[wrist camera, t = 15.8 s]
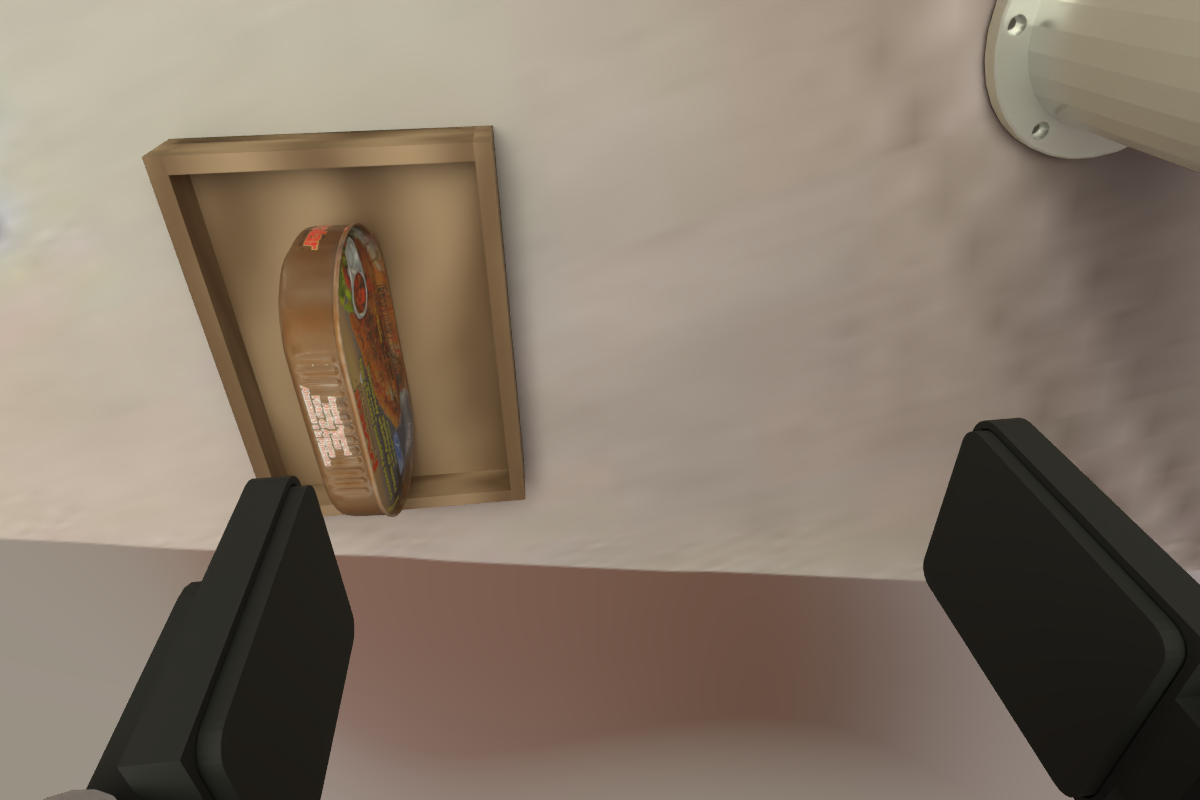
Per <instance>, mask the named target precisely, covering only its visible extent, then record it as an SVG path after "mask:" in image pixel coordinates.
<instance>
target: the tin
mask: <svg viewBox="0 0 1200 800" xmlns="http://www.w3.org/2000/svg"><path fill="white" fill-rule="evenodd" d="M278 307H279V322H280V331H281V337H282V343H283V349H284V353H285V357H286V361H287V364H288V368H289V371H290V375H291V378H292V382H293V385H294V389H295V392H296V395H297V399H298V402H299V405H300V409H301V412H302V415H303V419H304V422H305V425H306V428H307V432H308V435H309V438H310V442H311V445H312V448H313V451H314V455H315V458H316V461H317V464H318V467H319V471H320V474H321V477H322V480H323V484H324V487H325V489H326V492H327V494H328V497H329V499H330V501H331V502H332V504H333V505H334V507H335V508H336V509H337V510H338V511H339V512H341V513H343V514H345V515H351V516H370V515H387V516H390V517H395V516H397V515H398V514H399V513H400V512H401V511H402V509H403V507H404V505H405V502H406V499H407V496H408V492H409V488H410V482H411V474H412V463H413V447H414V426H413V412H412V405H411V397H410V391H409V386H408V380H407V375H406V370H405V366H404V360H403V355H402V350H401V345H400V340H399V335H398V329H397V324H396V319H395V313H394V308H393V303H392V298H391V293H390V288H389V283H388V278H387V273H386V268H385V265H384V261H383V258H382V255H381V252H380V249H379V246H378V244H377V242H376V240H375V238H374V236H373V234H372V232H371V231H370V230H369V229H368V228H367V227H366V226H365V225H364V224H362V223H359V222H355V223H351V224H350V225H325V226H314V227H308V228H306V229H304V230H303V231H302V232H300V233H299V235H298V236H297V237H296V239H295V241H294V242H293V244H292V246H291V248H290V249H289V251H288V253H287V254H286V256H285V258H284V261H283V264H282V269H281V274H280V282H279V297H278Z"/></svg>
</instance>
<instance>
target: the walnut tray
mask: <svg viewBox="0 0 1200 800" xmlns="http://www.w3.org/2000/svg"><path fill="white" fill-rule="evenodd" d="M142 159H143V162H144V164H145V167H146V170H147V173H148V176H149V178H150V181H151V184H152V187H153V190H154V192H155V195H156V198H157V201H158V204H159V206H160V209H161V212H162V215H163V218H164V220H165V223H166V226H167V229H168V232H169V234H170V237H171V240H172V243H173V246H174V249H175V251H176V254H177V257H178V260H179V263H180V265H181V268H182V271H183V274H184V277H185V279H186V282H187V285H188V288H189V291H190V293H191V296H192V299H193V302H194V305H195V307H196V310H197V313H198V316H199V319H200V321H201V324H202V327H203V330H204V333H205V335H206V338H207V341H208V344H209V347H210V349H211V352H212V355H213V358H214V361H215V363H216V366H217V369H218V372H219V375H220V377H221V380H222V383H223V386H224V389H225V391H226V394H227V397H228V400H229V403H230V405H231V408H232V411H233V414H234V417H235V419H236V422H237V425H238V428H239V431H240V433H241V436H242V439H243V442H244V445H245V447H246V450H247V453H248V456H249V459H250V461H251V464H252V467H253V470H254V473H255V475H256V478H268V477H281V476H296V477H297V478H298V479H299V481H300V483H301V486H302V485H312V486H313V488H314V490H315V492H316V495H317V498H318V502H319V505H320V508H321V512H322V515H323V516H332V515H344V514H343V513H341V512H339V511H338V510H337V509H336V508H335V507H334V505H333V504H332V502H331V501H330V499H329V497H328V494H327V492H326V489H325V487H324V484H323V480H322V477H321V474H320V471H319V467H318V464H317V461H316V458H315V455H314V451H313V448H312V445H311V442H310V438H309V435H308V432H307V428H306V425H305V422H304V419H303V415H302V412H301V409H300V405H299V402H298V399H297V395H296V392H295V389H294V385H293V382H292V378H291V375H290V371H289V368H288V364H287V361H286V357H285V353H284V349H283V343H282V337H281V331H280V322H279V307H278V297H279V282H280V274H281V269H282V264H283V261H284V258H285V256H286V254H287V253H288V251H289V249H290V248H291V246H292V244H293V242H294V241H295V239H296V237H297V236H298V235H299V233H300V232H302V231H303V230H304V229H306V228H308V227H314V226H325V225H350V224H351V223H355V222H359V223H362V224H364V225H365V226H366V227H367V228H368V229H369V230H370V231H371V232H372V234H373V236H374V238H375V240H376V242H377V244H378V246H379V249H380V252H381V255H382V258H383V261H384V265H385V268H386V273H387V278H388V283H389V288H390V293H391V298H392V303H393V308H394V313H395V319H396V324H397V329H398V335H399V340H400V345H401V350H402V355H403V360H404V366H405V370H406V375H407V380H408V386H409V391H410V397H411V405H412V412H413V426H414V447H413V463H412V474H411V482H410V488H409V492H408V496H407V499H406V502H405V505H404V507H403V509H415V508H427V507H439V506H451V505H463V504H475V503H487V502H498V501H510V500H522V499H525V475H524V460H523V449H522V438H521V428H520V417H519V406H518V395H517V384H516V374H515V363H514V352H513V341H512V331H511V320H510V309H509V298H508V288H507V277H506V266H505V255H504V245H503V234H502V223H501V212H500V202H499V191H498V180H497V169H496V159H495V148H494V137H493V126H472V127H448V128H423V129H399V130H375V131H351V132H327V133H303V134H279V135H255V136H231V137H207V138H183V139H168V140H167V141H165V142H164V143H162V144H161V145H159V146H158V147H156V148H155V149H153V150H152V151H150V152H149V153H147V154H146V155H144V156H143V157H142ZM403 509H402V510H403Z"/></svg>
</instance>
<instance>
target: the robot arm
mask: <svg viewBox="0 0 1200 800" xmlns="http://www.w3.org/2000/svg"><path fill="white" fill-rule="evenodd" d="M1009 23H1010V24H1009ZM1008 25H1009V26H1008ZM985 77H986V86H987V90H988V94H989V98H990V102H991V105H992V107H993V109H994V111H995V113H996V115H997V117H998V119H999V121H1000V122H1001V124H1002V125H1003V126H1004V127H1005V128H1006V130H1007V131H1008V132H1009V133H1010V134H1011V135H1012V136H1013V137H1014V138H1015V139H1017V140H1018V141H1020V142H1022V143H1023V144H1025V145H1026V146H1028V147H1030V148H1031V149H1034V150H1037V151H1039V152H1042V153H1044V154H1047V155H1049V156H1054V157H1059V158H1065V159H1087V158H1095V157H1099V156H1103V155H1107V154H1112V153H1115V152H1118V151H1120V150H1123V149H1125V148H1127V147H1131V148H1133V149H1136V150H1139V151H1141V152H1144V153H1147V154H1150V155H1152V156H1155V157H1158V158H1161V159H1163V160H1166V161H1169V162H1172V163H1174V164H1177V165H1180V166H1182V167H1185V168H1188V169H1191V170H1193V171H1196V172H1199V173H1200V0H997V2H996V5H995V9H994V12H993V16H992V19H991V23H990V26H989V29H988V36H987V43H986V51H985ZM923 570H924V576H925V579H926V582H927V583H928V585H929V587H930V589H931V590H932V592H933V593H934V595H935V597H936V598H937V600H938V601H939V603H940V604H941V606H942V608H943V609H944V611H945V612H946V614H947V615H948V617H949V619H950V620H951V622H952V623H953V625H954V626H955V628H956V630H957V631H958V633H959V634H960V636H961V637H962V639H963V641H964V642H965V644H966V645H967V647H968V648H969V650H970V651H971V653H972V655H973V656H974V658H975V659H976V661H977V663H978V664H979V666H980V667H981V669H982V670H983V672H984V674H985V675H986V677H987V678H988V680H989V681H990V683H991V684H992V686H993V687H994V689H995V691H996V692H997V694H998V695H999V697H1000V699H1001V700H1002V702H1003V703H1004V705H1005V707H1006V708H1007V710H1008V711H1009V713H1010V714H1011V716H1012V717H1013V719H1014V721H1015V722H1016V724H1017V725H1018V727H1019V728H1020V730H1021V732H1022V733H1023V735H1024V736H1025V738H1026V739H1027V741H1028V743H1029V744H1030V746H1031V747H1032V749H1033V750H1034V752H1035V753H1036V755H1037V757H1038V758H1039V760H1040V761H1041V763H1042V764H1043V766H1044V768H1045V769H1046V771H1047V772H1048V774H1049V776H1050V777H1051V779H1052V780H1053V782H1054V783H1055V785H1056V786H1057V787H1058V789H1059V790H1060V791H1061V792H1062V793H1064V794H1065V795H1066V796H1068V797H1073V798H1074V799H1075V800H1200V585H1199V584H1198V583H1197V582H1196V581H1195V580H1194V579H1193V578H1192V577H1191V576H1190V575H1189V574H1188V573H1187V572H1186V571H1185V570H1184V569H1183V568H1182V567H1181V566H1180V565H1178V564H1177V563H1176V562H1175V561H1174V560H1173V559H1172V558H1171V557H1170V556H1169V555H1168V554H1167V553H1166V552H1165V551H1164V550H1163V549H1162V548H1161V547H1160V546H1159V545H1158V544H1157V543H1155V542H1154V541H1153V540H1152V539H1151V538H1150V537H1149V536H1148V535H1147V534H1146V533H1145V532H1144V531H1143V530H1142V529H1141V528H1140V527H1139V526H1138V525H1137V524H1136V523H1135V522H1134V521H1132V520H1131V519H1130V518H1129V517H1128V516H1127V515H1126V514H1125V513H1124V512H1123V511H1122V510H1121V509H1120V508H1119V507H1118V506H1117V505H1116V504H1115V503H1114V502H1113V501H1112V500H1111V499H1110V498H1108V497H1107V496H1106V495H1105V494H1104V493H1103V492H1102V491H1101V490H1100V489H1099V488H1098V487H1097V486H1096V485H1095V484H1094V483H1093V482H1092V481H1091V480H1090V479H1089V478H1088V477H1087V476H1085V475H1084V474H1083V473H1082V472H1081V471H1080V470H1079V469H1078V468H1077V467H1076V466H1075V465H1074V464H1073V463H1072V462H1071V461H1070V460H1069V459H1068V458H1067V457H1066V456H1065V455H1064V454H1062V453H1061V452H1060V451H1059V450H1058V449H1057V448H1056V447H1055V446H1054V445H1053V444H1052V443H1051V442H1050V441H1049V440H1048V439H1047V438H1046V437H1045V436H1044V435H1043V434H1042V433H1041V432H1039V431H1038V430H1037V429H1036V428H1035V427H1034V426H1033V425H1032V424H1031V423H1030V422H1028V421H1027V420H1025V419H1022V418H1012V419H999V420H986V421H982V422H979V423H978V424H977V425H976V426H975V428H974V430H973V431H972V432H969V433H967V434H966V435H965V437H964V439H963V441H962V444H961V447H960V450H959V454H958V457H957V460H956V463H955V466H954V469H953V472H952V475H951V478H950V481H949V484H948V487H947V491H946V494H945V497H944V500H943V503H942V506H941V509H940V512H939V515H938V518H937V521H936V524H935V527H934V531H933V534H932V537H931V540H930V543H929V546H928V549H927V552H926V555H925V558H924V563H923ZM353 640H354V619H353V615H352V611H351V607H350V604H349V601H348V597H347V594H346V591H345V587H344V584H343V581H342V578H341V574H340V571H339V568H338V565H337V561H336V558H335V554H334V551H333V548H332V545H331V541H330V538H329V535H328V531H327V528H326V525H325V521H324V518H323V515H322V512H321V508H320V505H319V502H318V498H317V495H316V492H315V490H314V488H313V486H312V485H302V486H301V483H300V481H299V479H298V478H297V477H296V476H281V477H268V478H256V479H251V480H249V481H248V483H247V484H246V486H245V488H244V490H243V492H242V494H241V496H240V499H239V501H238V503H237V505H236V507H235V509H234V512H233V514H232V516H231V518H230V520H229V523H228V525H227V527H226V529H225V531H224V534H223V536H222V538H221V540H220V542H219V545H218V547H217V549H216V551H215V553H214V556H213V558H212V560H211V562H210V564H209V566H208V569H207V571H206V573H205V575H204V577H203V580H202V581H200V582H191V583H190V584H189V585H188V586H186V587H185V588H184V590H183V591H182V593H181V595H180V596H179V597H178V599H177V601H176V603H175V605H174V607H173V610H172V612H171V614H170V616H169V618H168V620H167V622H166V624H165V626H164V628H163V630H162V633H161V635H160V637H159V639H158V641H157V643H156V645H155V647H154V649H153V651H152V653H151V655H150V657H149V660H148V662H147V664H146V666H145V668H144V670H143V672H142V674H141V676H140V678H139V681H138V683H137V684H136V687H135V689H134V691H133V693H132V695H131V697H130V699H129V701H128V703H127V705H126V707H125V709H124V712H123V714H122V716H121V718H120V720H119V722H118V724H117V727H116V728H115V730H114V732H113V734H112V737H111V739H110V741H109V743H108V745H107V747H106V749H105V751H104V753H103V755H102V757H101V759H100V762H99V764H98V766H97V768H96V770H95V772H94V774H93V776H92V778H91V780H90V782H89V785H88V787H87V789H86V790H71V791H68V792H65V793H61V794H58V795H55V796H51V797H48V798H46V799H44V800H320V798H321V794H322V789H323V785H324V780H325V775H326V770H327V765H328V761H329V756H330V751H331V746H332V741H333V736H334V732H335V727H336V722H337V718H338V712H339V708H340V703H341V698H342V694H343V689H344V684H345V679H346V674H347V669H348V664H349V660H350V655H351V650H352V646H353Z"/></svg>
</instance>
